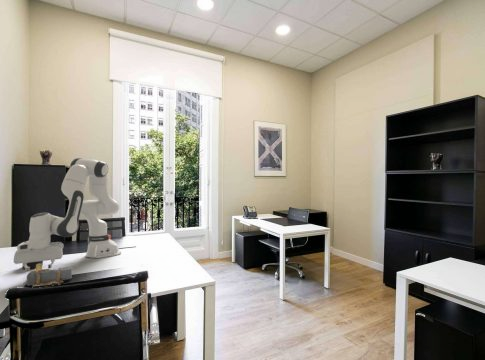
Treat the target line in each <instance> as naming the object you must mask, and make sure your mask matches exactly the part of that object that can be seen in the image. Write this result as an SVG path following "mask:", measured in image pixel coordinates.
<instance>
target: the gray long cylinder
mask: <svg viewBox="0 0 485 360" xmlns="http://www.w3.org/2000/svg"><path fill="white" fill-rule="evenodd" d="M58 271H60V280H64V281H65V280H71V279H72V278H73V267H67V268H61V269H49V270H48V271H41V272H30V271H28V274H27V275H26V286H33V285H35V284H36V282H37V274H40V283H45V282H52V281H57V272H58Z"/></svg>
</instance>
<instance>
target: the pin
mask: <svg viewBox="0 0 485 360" xmlns="http://www.w3.org/2000/svg"><path fill="white" fill-rule="evenodd" d="M42 269H43V265H42V264H36V268H35V270H36V272H39V271H40V270H42Z"/></svg>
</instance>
